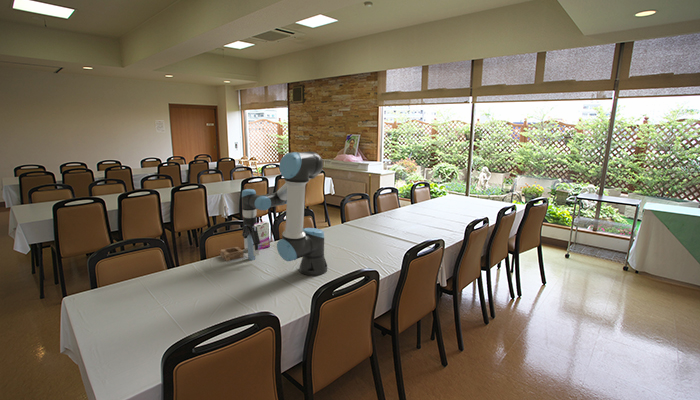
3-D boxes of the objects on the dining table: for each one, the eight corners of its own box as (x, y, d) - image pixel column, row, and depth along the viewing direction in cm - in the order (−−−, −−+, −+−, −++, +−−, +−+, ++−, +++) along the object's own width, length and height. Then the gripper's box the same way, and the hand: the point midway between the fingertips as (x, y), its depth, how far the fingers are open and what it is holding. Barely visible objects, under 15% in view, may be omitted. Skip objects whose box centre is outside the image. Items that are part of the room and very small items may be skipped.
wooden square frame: (243, 257, 204) (243, 251, 203) (226, 261, 197) (226, 254, 197) (237, 252, 211) (237, 246, 210) (220, 256, 205) (220, 249, 204)
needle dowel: (256, 259, 201) (255, 234, 198) (249, 261, 199) (248, 235, 196) (253, 257, 204) (252, 232, 201) (247, 259, 202) (245, 233, 199)
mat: (248, 258, 203) (248, 257, 203) (227, 262, 196) (227, 262, 196) (239, 251, 214) (239, 250, 214) (219, 255, 207) (219, 255, 207)
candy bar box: (265, 245, 226) (264, 221, 223) (270, 246, 223) (269, 222, 220) (251, 249, 217) (249, 224, 214) (256, 251, 214) (254, 226, 211)
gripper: (265, 220, 189) (266, 256, 193) (247, 211, 208) (249, 244, 212) (252, 222, 184) (253, 259, 189) (235, 212, 204) (237, 247, 208)
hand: (251, 251), depth 201 cm, fingers open, 13 cm apart
